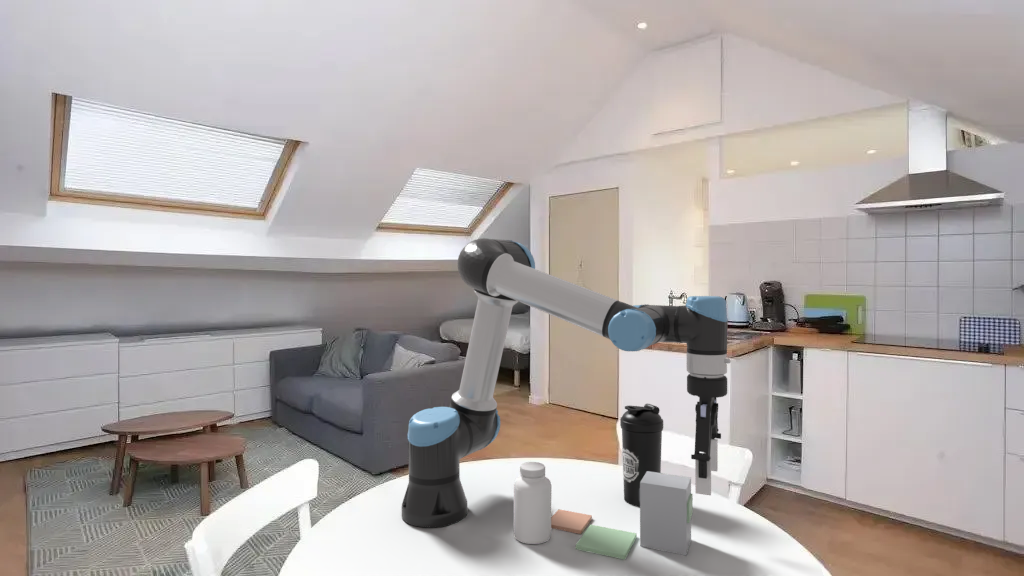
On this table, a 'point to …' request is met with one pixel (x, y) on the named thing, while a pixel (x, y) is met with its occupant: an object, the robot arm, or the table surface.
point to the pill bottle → (532, 504)
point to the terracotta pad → (570, 521)
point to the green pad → (606, 541)
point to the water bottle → (640, 447)
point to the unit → (665, 512)
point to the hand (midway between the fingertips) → (707, 481)
